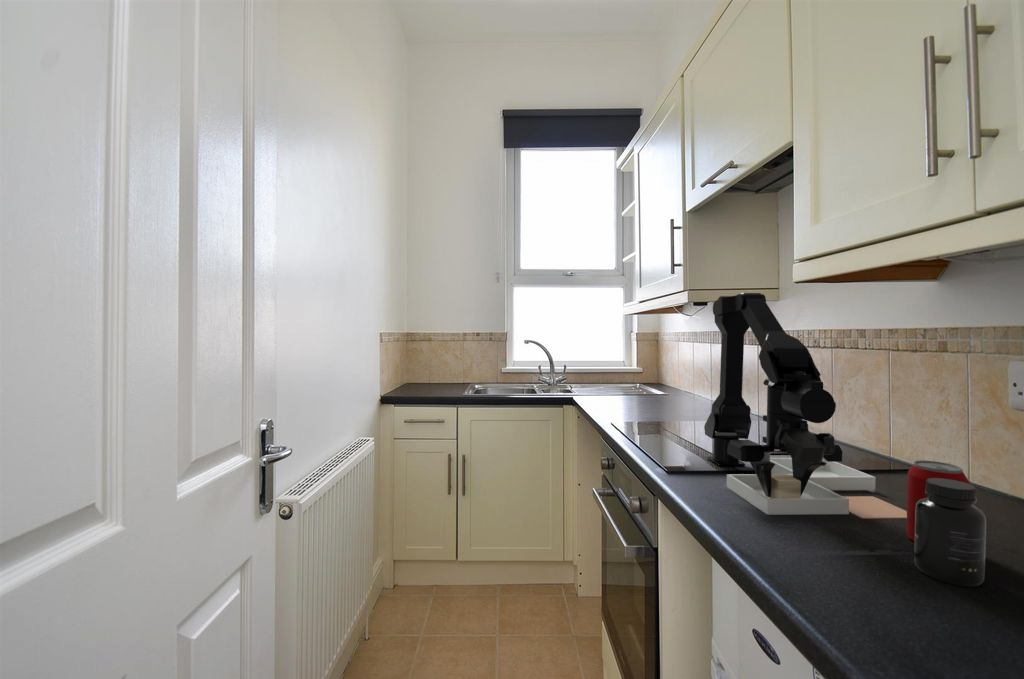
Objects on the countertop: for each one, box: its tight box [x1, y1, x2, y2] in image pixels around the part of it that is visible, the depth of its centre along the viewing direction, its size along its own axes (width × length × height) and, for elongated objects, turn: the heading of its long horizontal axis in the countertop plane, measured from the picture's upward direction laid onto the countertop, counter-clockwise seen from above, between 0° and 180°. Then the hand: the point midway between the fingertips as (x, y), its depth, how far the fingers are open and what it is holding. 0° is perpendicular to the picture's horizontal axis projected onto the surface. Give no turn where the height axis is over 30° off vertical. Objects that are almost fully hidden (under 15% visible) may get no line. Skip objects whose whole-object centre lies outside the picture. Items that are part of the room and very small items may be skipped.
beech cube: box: [769, 475, 801, 499], centre depth 88 cm, size 4×4×4 cm
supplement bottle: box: [913, 478, 987, 587], centre depth 62 cm, size 7×7×12 cm
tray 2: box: [770, 457, 876, 493], centre depth 100 cm, size 14×14×3 cm
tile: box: [844, 495, 907, 520], centre depth 84 cm, size 10×10×1 cm
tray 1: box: [726, 473, 850, 516], centre depth 88 cm, size 14×14×3 cm
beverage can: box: [906, 460, 970, 543], centre depth 70 cm, size 7×7×12 cm
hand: (782, 496), depth 88 cm, fingers open, 5 cm apart
